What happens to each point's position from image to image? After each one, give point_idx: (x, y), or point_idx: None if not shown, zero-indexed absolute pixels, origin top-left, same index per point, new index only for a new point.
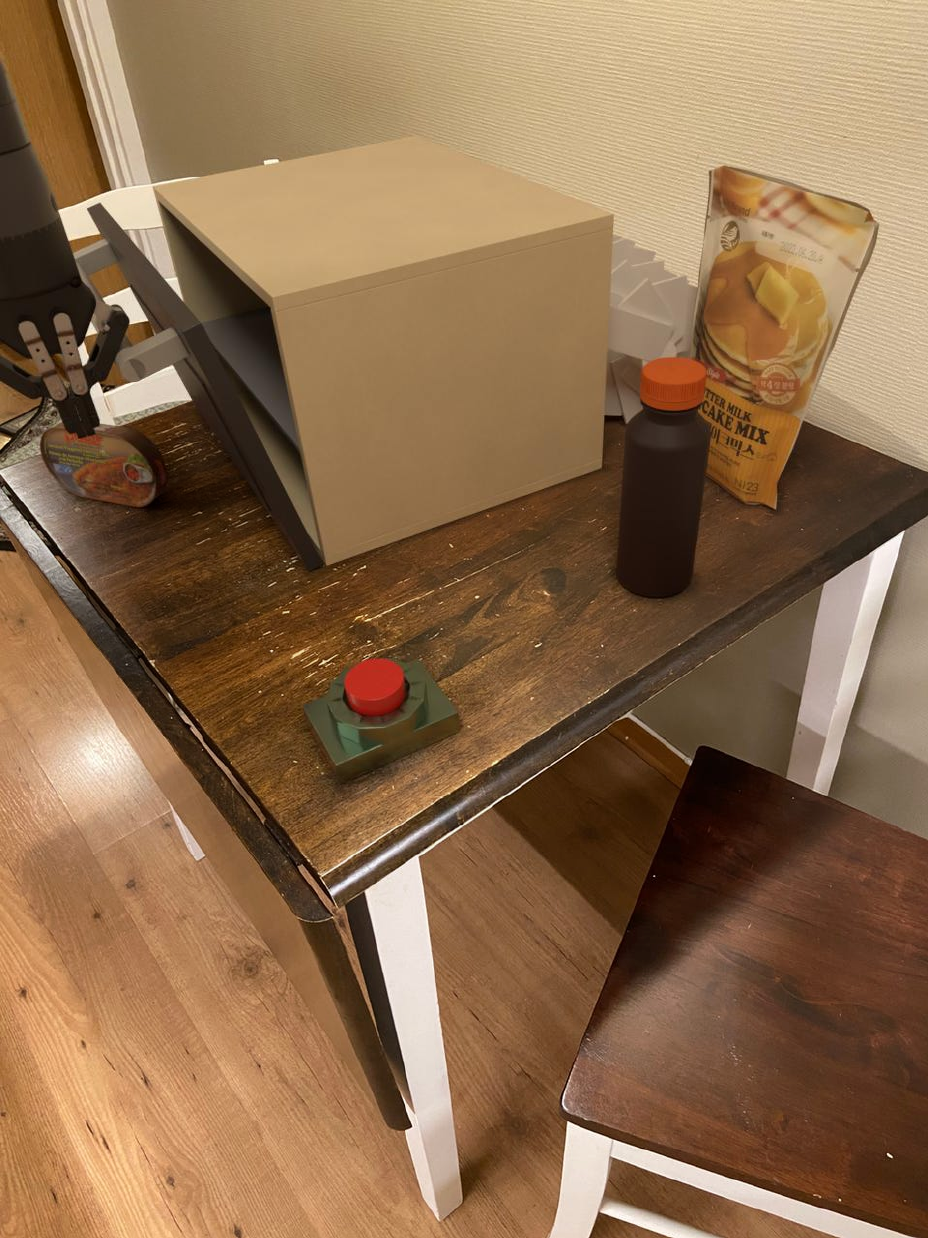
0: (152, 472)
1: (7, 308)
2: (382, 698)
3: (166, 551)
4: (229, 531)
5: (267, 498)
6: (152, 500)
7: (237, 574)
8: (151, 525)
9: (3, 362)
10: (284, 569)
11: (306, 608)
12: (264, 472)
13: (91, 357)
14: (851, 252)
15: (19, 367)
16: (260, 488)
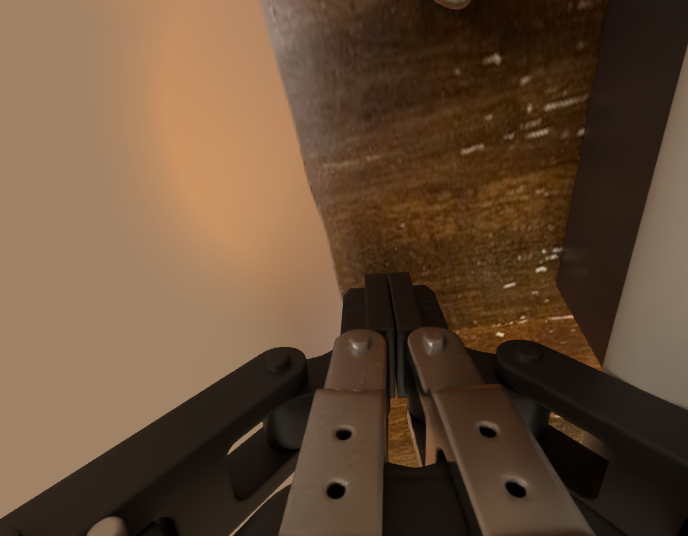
0: (469, 1)
1: None
2: None
3: (418, 147)
4: (514, 142)
5: (595, 303)
6: (438, 2)
7: (482, 247)
8: (416, 55)
9: (195, 529)
10: (535, 266)
11: (520, 338)
12: None
13: (537, 398)
14: None
15: (251, 418)
16: (603, 274)
